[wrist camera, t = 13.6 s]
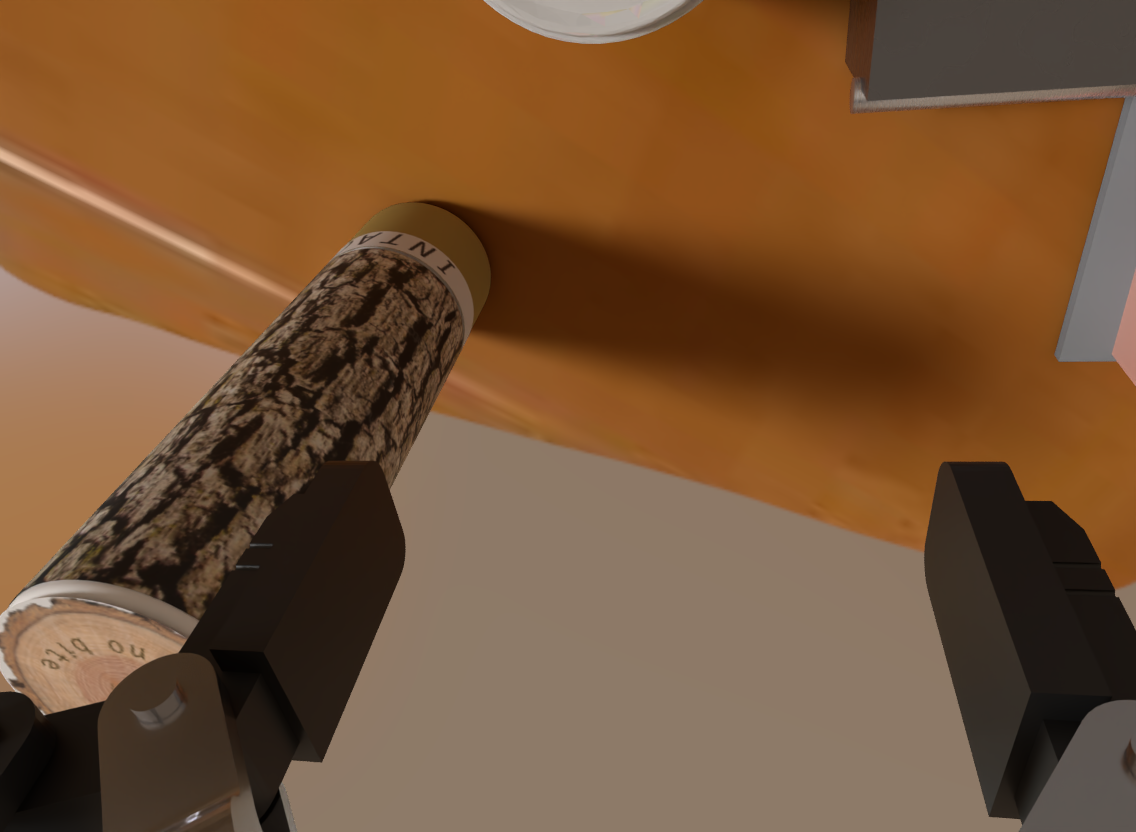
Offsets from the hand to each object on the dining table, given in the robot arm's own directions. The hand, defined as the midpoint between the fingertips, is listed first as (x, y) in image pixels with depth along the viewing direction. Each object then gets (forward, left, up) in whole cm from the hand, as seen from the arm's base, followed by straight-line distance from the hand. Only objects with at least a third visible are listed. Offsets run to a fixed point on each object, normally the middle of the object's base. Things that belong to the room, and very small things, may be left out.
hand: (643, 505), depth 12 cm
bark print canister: (+8, -13, -27) cm, 31 cm away
